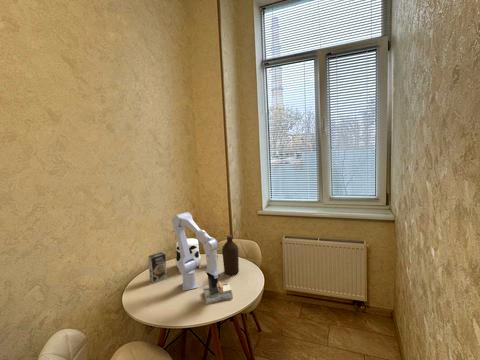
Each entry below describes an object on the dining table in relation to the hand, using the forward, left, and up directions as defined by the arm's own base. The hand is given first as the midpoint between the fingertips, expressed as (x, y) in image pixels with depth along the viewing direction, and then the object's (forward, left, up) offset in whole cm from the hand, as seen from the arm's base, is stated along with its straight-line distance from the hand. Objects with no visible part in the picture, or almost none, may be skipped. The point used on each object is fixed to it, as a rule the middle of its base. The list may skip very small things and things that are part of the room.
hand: (213, 285), depth 138 cm
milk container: (-45, -10, -6) cm, 47 cm away
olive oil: (-24, +16, -6) cm, 29 cm away
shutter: (0, +6, -3) cm, 7 cm away
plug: (0, 0, -2) cm, 2 cm away
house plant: (-40, +8, -6) cm, 41 cm away
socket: (0, +2, -6) cm, 6 cm away
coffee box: (-33, -30, -6) cm, 45 cm away
